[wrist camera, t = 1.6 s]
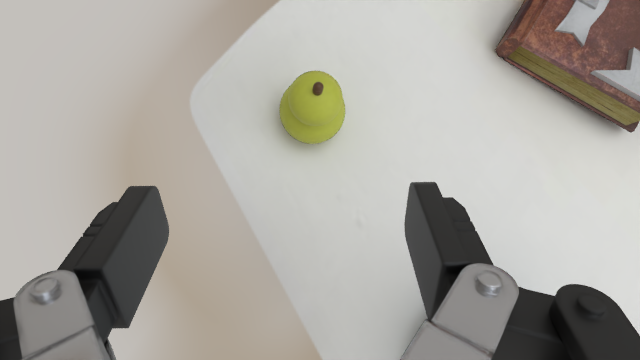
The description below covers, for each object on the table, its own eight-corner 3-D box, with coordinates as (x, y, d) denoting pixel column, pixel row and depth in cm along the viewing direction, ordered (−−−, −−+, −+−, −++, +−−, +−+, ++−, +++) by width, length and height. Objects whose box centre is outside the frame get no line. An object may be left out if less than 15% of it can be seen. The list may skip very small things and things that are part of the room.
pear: (285, 153, 35) (285, 131, 26) (275, 93, 36) (271, 51, 26) (345, 143, 36) (366, 118, 27) (334, 84, 36) (351, 40, 27)
